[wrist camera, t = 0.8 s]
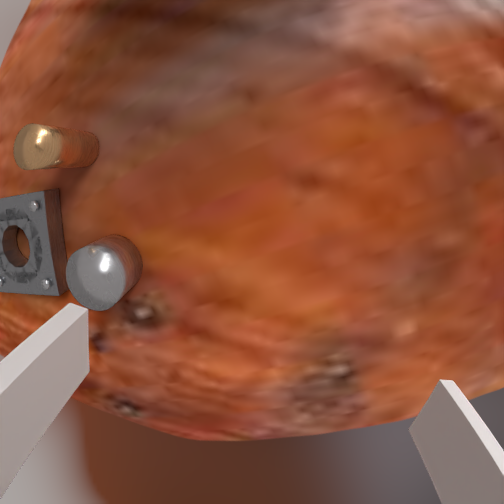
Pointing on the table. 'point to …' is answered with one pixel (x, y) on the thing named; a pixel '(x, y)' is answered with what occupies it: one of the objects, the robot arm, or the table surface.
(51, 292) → the flange socket
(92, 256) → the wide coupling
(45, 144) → the brass peg
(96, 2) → the table surface
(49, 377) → the robot arm
